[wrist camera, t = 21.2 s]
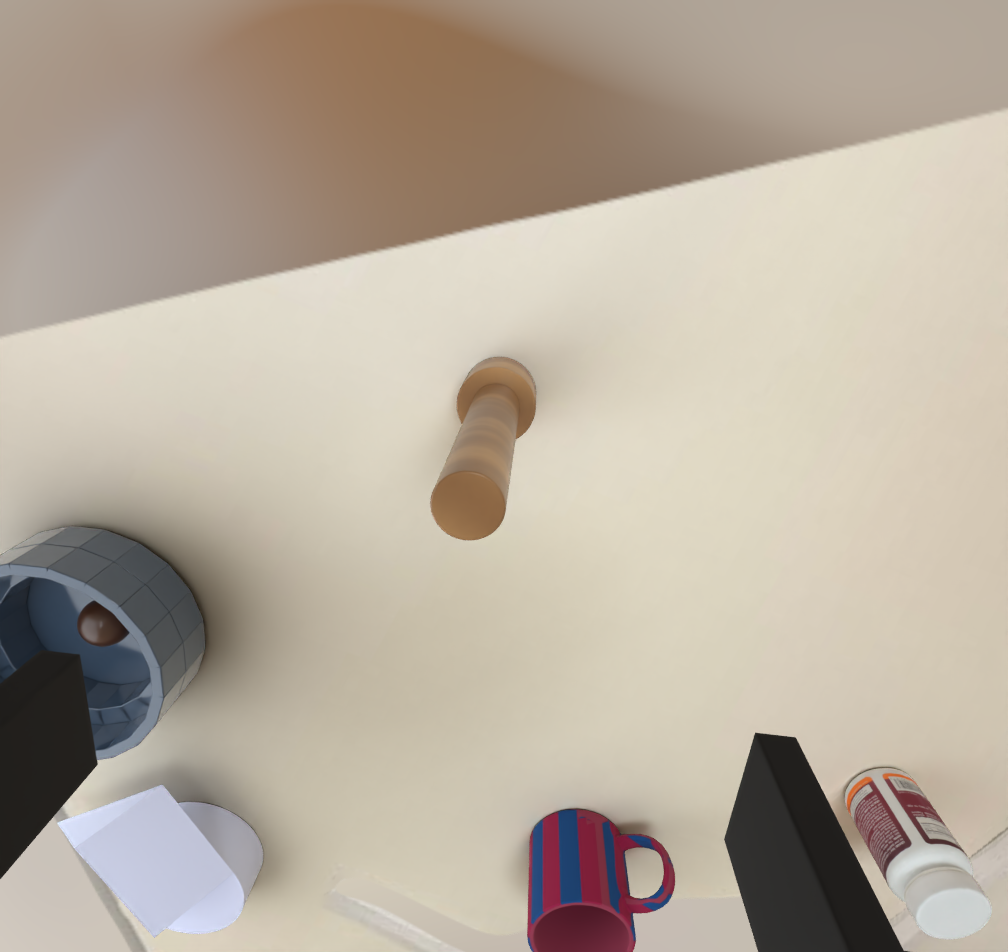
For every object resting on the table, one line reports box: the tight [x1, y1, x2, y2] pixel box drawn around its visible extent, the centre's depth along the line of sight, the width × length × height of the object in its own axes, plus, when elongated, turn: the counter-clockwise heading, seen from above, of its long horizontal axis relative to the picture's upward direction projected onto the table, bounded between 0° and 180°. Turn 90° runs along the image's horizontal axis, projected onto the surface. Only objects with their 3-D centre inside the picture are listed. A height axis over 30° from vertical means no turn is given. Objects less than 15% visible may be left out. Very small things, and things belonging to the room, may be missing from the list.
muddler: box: [430, 357, 536, 540], centre depth 28 cm, size 4×4×16 cm
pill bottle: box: [845, 768, 992, 940], centre depth 39 cm, size 5×5×8 cm
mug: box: [527, 809, 675, 952], centre depth 43 cm, size 7×10×7 cm
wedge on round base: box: [58, 785, 263, 938], centre depth 45 cm, size 9×7×13 cm
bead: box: [77, 600, 130, 647], centre depth 39 cm, size 3×3×3 cm
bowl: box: [0, 526, 205, 760], centre depth 39 cm, size 13×13×6 cm
